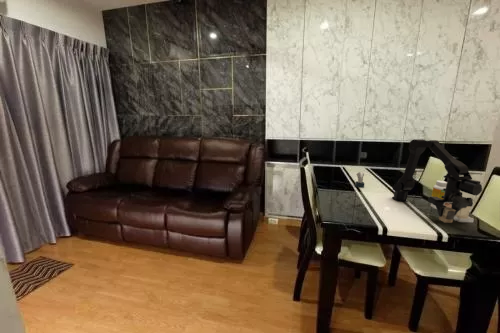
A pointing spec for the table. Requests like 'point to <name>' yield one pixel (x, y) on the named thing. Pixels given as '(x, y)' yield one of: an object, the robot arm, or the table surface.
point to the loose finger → (447, 215)
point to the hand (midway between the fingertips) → (446, 216)
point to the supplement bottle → (439, 189)
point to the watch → (360, 180)
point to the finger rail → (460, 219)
